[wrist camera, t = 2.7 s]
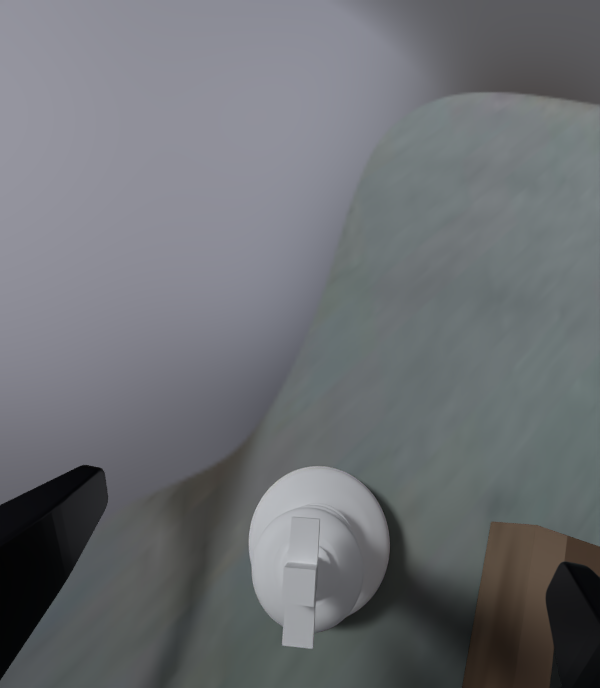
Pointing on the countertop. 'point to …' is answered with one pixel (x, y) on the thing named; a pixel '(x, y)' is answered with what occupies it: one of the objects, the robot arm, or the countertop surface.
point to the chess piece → (316, 550)
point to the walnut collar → (519, 605)
